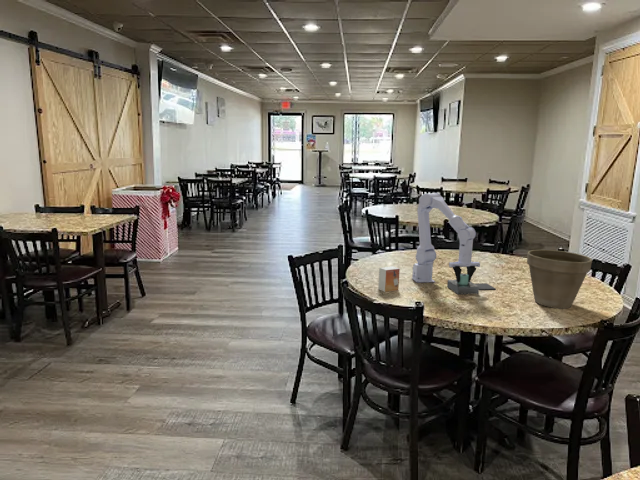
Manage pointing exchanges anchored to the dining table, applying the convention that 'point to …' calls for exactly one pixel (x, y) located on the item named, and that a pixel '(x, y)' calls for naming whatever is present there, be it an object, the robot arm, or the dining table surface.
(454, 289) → the housing
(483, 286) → the mat
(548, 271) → the plant pot
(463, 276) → the teal and grey cylinder
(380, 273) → the small box
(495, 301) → the dining table surface
